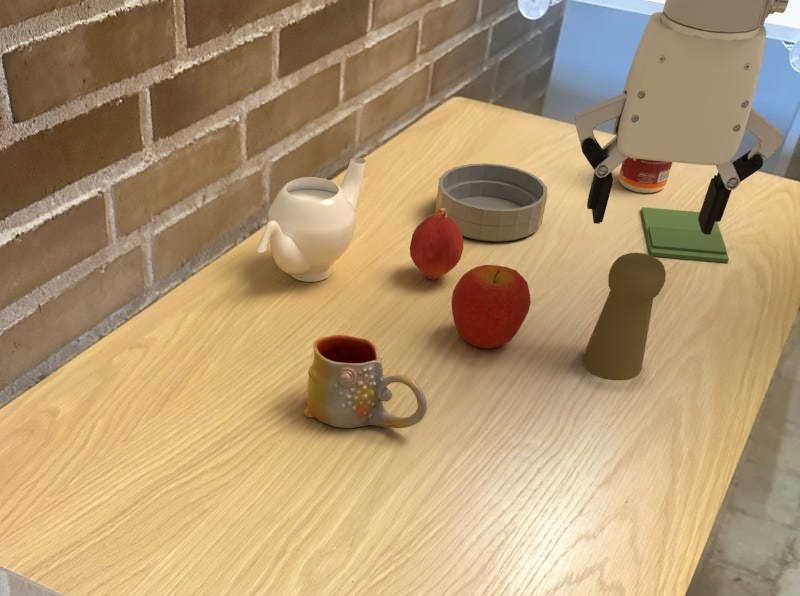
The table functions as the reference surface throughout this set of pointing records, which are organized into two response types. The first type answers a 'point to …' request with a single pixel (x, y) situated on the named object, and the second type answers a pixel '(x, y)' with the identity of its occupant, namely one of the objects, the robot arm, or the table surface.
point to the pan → (492, 201)
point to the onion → (436, 245)
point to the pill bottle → (644, 174)
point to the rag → (681, 236)
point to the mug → (354, 385)
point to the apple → (490, 305)
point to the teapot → (313, 223)
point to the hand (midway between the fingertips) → (649, 222)
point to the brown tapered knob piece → (625, 317)
